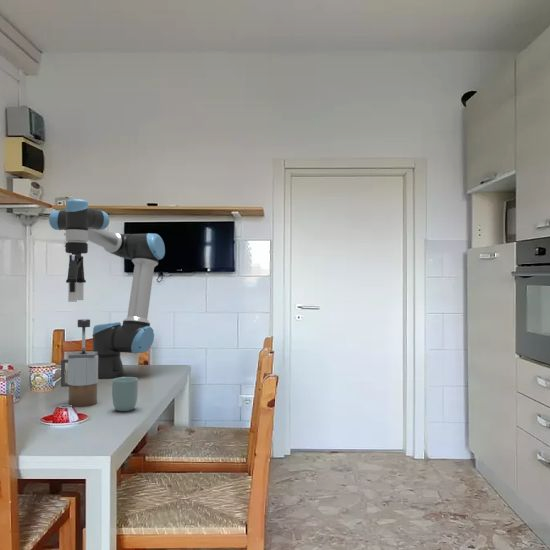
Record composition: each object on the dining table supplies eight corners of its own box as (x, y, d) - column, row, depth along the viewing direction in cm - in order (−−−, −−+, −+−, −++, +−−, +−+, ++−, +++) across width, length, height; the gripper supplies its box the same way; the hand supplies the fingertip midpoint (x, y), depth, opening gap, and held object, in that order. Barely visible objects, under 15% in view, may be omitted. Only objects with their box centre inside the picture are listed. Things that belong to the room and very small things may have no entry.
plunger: (74, 358, 171) (75, 319, 171) (95, 358, 172) (96, 318, 172) (70, 361, 164) (70, 320, 164) (92, 361, 165) (92, 320, 166)
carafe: (64, 401, 171) (64, 351, 171) (98, 400, 173) (99, 351, 173) (57, 407, 162) (58, 355, 163) (94, 406, 164) (95, 354, 165)
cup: (130, 413, 155) (130, 381, 155) (107, 412, 157) (107, 380, 157) (141, 407, 163) (142, 377, 163) (119, 406, 164) (120, 376, 165)
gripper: (72, 244, 191) (71, 299, 191) (58, 239, 166) (57, 302, 166) (92, 244, 192) (92, 299, 192) (81, 239, 168) (81, 302, 168)
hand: (76, 301), depth 179 cm, fingers open, 13 cm apart
